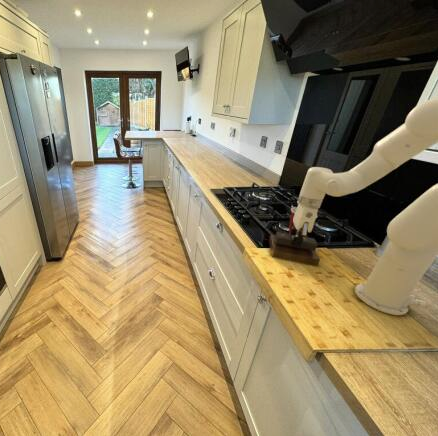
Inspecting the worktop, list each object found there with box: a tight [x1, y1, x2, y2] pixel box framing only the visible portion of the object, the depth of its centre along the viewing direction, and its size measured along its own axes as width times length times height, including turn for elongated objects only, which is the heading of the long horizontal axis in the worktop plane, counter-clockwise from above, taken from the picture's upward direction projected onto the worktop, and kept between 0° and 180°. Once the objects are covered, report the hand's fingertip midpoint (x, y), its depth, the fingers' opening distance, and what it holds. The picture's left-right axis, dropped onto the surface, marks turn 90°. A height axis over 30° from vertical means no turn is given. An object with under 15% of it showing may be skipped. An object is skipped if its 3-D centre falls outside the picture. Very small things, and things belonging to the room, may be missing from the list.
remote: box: [274, 231, 318, 251], centre depth 96 cm, size 14×5×3 cm, turn 70°
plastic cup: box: [288, 207, 318, 234], centre depth 110 cm, size 11×11×12 cm
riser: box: [268, 234, 321, 267], centre depth 98 cm, size 16×14×3 cm
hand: (294, 241), depth 96 cm, fingers closed on remote, 5 cm apart
